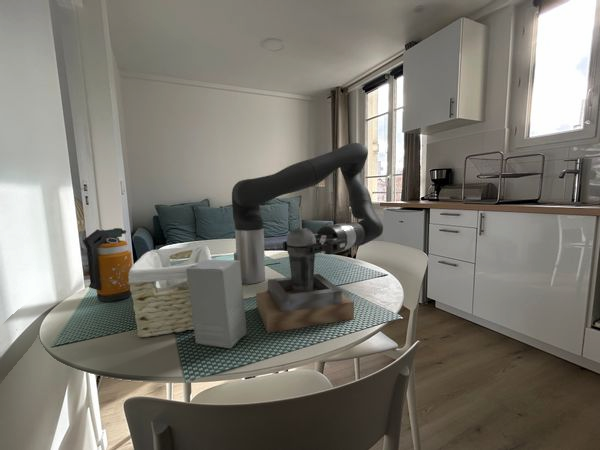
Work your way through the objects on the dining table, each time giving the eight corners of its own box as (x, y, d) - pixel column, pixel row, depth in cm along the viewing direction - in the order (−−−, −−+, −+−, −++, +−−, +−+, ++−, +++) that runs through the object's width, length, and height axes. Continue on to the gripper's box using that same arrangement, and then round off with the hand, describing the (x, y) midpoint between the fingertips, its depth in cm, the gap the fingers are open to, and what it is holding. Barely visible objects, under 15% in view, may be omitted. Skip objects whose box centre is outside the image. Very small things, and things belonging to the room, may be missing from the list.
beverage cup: (318, 286, 72) (316, 207, 69) (317, 297, 64) (315, 209, 62) (289, 286, 72) (286, 207, 70) (285, 297, 65) (282, 210, 63)
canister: (141, 294, 84) (135, 226, 82) (102, 308, 74) (94, 232, 72) (122, 290, 88) (115, 225, 86) (82, 303, 78) (74, 230, 76)
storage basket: (150, 301, 79) (146, 248, 77) (212, 293, 84) (209, 244, 82) (131, 344, 56) (124, 271, 54) (216, 330, 61) (213, 263, 60)
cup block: (267, 333, 59) (266, 300, 59) (256, 307, 73) (255, 280, 72) (353, 318, 65) (353, 289, 64) (329, 297, 79) (329, 272, 78)
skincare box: (247, 334, 59) (244, 259, 57) (228, 352, 52) (223, 268, 51) (212, 328, 62) (208, 256, 60) (190, 345, 55) (184, 265, 53)
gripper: (315, 222, 82) (273, 229, 70) (359, 226, 72) (320, 234, 60) (315, 248, 83) (274, 260, 71) (359, 255, 73) (320, 269, 61)
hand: (295, 248), depth 65 cm, fingers closed on beverage cup, 7 cm apart
